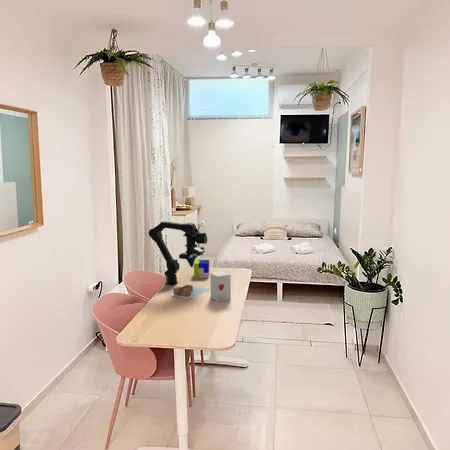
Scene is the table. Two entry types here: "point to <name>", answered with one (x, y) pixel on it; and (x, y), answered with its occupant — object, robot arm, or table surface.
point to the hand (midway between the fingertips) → (191, 267)
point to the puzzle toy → (201, 268)
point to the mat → (195, 292)
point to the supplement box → (220, 286)
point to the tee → (183, 290)
